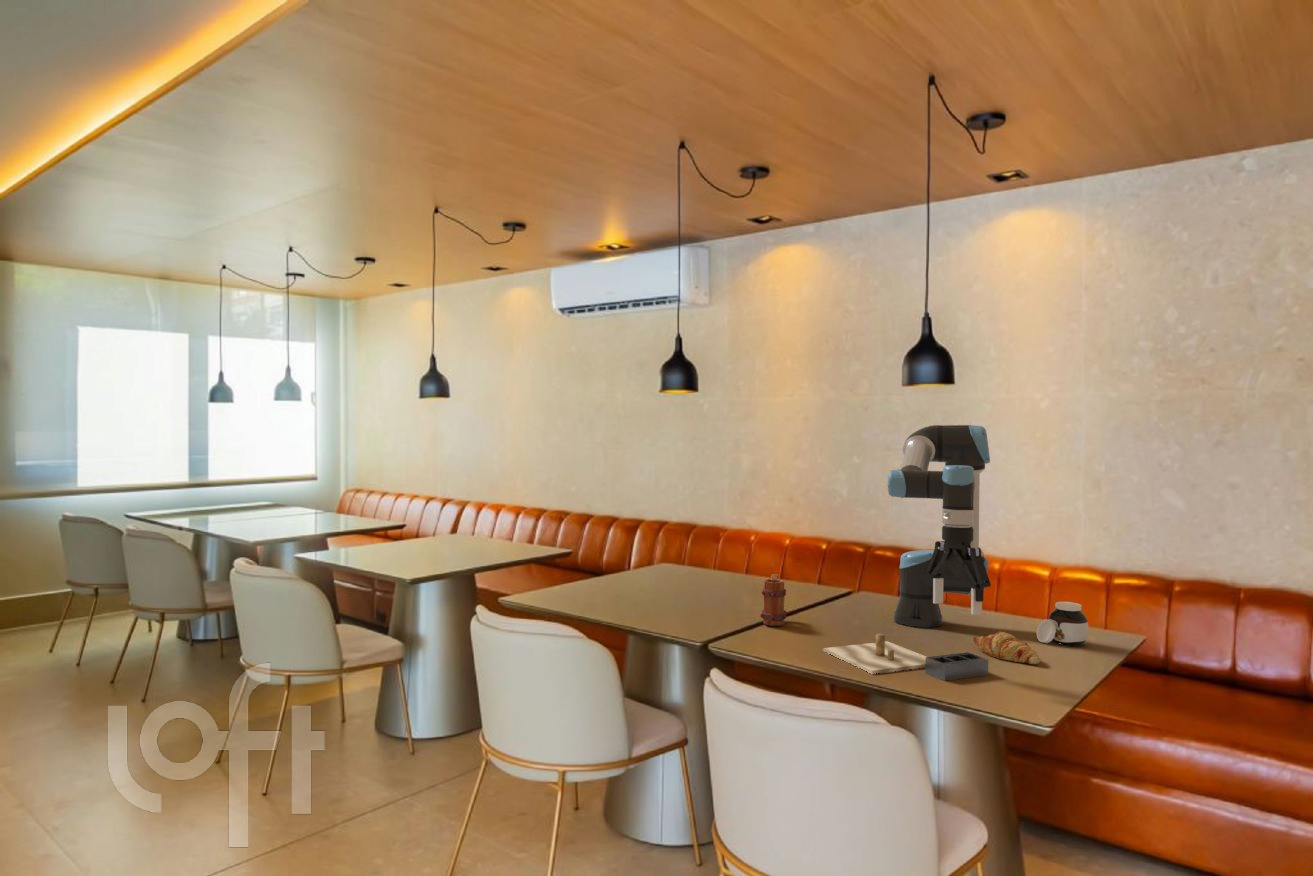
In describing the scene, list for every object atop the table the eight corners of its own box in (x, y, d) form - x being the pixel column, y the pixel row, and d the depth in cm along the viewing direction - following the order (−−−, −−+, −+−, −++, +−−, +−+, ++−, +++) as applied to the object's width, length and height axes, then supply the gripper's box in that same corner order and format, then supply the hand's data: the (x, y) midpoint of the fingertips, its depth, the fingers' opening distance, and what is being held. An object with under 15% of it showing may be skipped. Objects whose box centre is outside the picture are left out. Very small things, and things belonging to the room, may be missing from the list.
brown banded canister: (785, 629, 246) (786, 581, 246) (759, 627, 247) (760, 580, 247) (787, 618, 260) (788, 573, 260) (762, 617, 262) (763, 572, 261)
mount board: (887, 644, 229) (887, 622, 229) (940, 665, 208) (940, 641, 208) (822, 651, 221) (823, 628, 220) (871, 674, 200) (872, 649, 200)
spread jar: (1092, 645, 230) (1092, 606, 230) (1069, 650, 224) (1069, 610, 224) (1053, 636, 240) (1053, 598, 240) (1030, 641, 234) (1031, 602, 234)
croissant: (1046, 678, 210) (1055, 650, 211) (1025, 665, 205) (1035, 637, 207) (979, 656, 228) (988, 631, 230) (958, 644, 224) (968, 618, 226)
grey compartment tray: (968, 667, 207) (968, 652, 207) (988, 675, 201) (988, 659, 201) (925, 672, 202) (925, 657, 202) (944, 681, 195) (944, 664, 195)
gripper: (913, 520, 211) (912, 599, 211) (982, 532, 188) (981, 620, 188) (935, 520, 214) (934, 597, 214) (1006, 530, 191) (1005, 618, 191)
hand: (956, 608), depth 201 cm, fingers open, 13 cm apart
